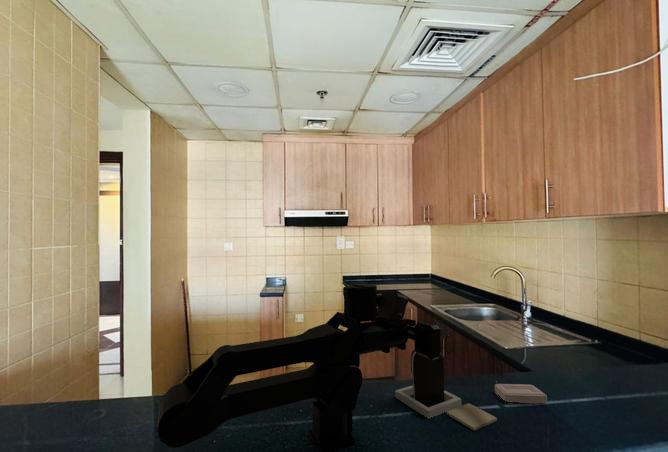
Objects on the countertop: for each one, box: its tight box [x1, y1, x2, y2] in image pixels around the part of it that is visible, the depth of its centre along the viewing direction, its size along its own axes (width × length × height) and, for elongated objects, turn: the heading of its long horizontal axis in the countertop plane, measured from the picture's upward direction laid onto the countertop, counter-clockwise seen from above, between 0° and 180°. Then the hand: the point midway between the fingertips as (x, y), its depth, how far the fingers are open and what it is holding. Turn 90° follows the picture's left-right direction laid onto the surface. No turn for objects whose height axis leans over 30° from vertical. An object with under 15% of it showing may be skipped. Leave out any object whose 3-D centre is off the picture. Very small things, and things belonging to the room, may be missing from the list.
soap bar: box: [494, 383, 548, 405], centre depth 68 cm, size 5×9×2 cm, turn 87°
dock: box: [394, 384, 463, 420], centre depth 66 cm, size 10×10×2 cm
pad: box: [445, 402, 498, 431], centre depth 60 cm, size 7×6×1 cm
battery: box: [410, 348, 446, 406], centre depth 67 cm, size 7×4×11 cm, turn 91°
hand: (430, 326), depth 67 cm, fingers open, 9 cm apart
